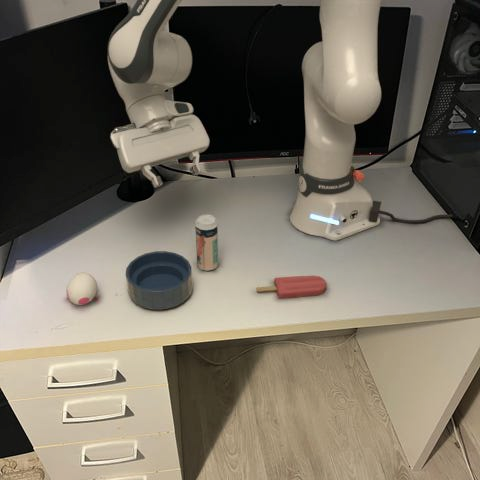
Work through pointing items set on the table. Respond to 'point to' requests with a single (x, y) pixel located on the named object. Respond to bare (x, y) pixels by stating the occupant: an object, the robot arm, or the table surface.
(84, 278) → the stress ball
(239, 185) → the table surface
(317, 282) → the popsicle
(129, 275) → the bowl
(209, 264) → the white capped supplement bottle
